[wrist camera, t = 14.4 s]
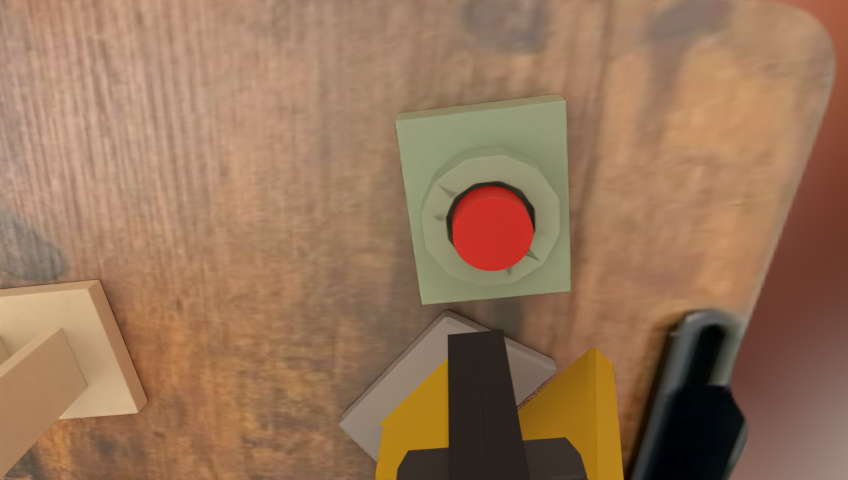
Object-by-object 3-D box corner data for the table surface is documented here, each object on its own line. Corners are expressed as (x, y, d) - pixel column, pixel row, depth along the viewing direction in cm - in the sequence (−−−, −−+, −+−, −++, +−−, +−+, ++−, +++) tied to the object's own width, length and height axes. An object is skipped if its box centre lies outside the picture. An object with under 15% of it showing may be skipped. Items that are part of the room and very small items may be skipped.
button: (448, 189, 26) (448, 202, 24) (526, 181, 25) (531, 193, 24) (456, 259, 27) (456, 275, 25) (530, 251, 27) (535, 267, 25)
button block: (398, 113, 28) (390, 129, 24) (557, 93, 27) (574, 107, 23) (423, 286, 32) (420, 323, 28) (563, 273, 31) (579, 308, 27)
